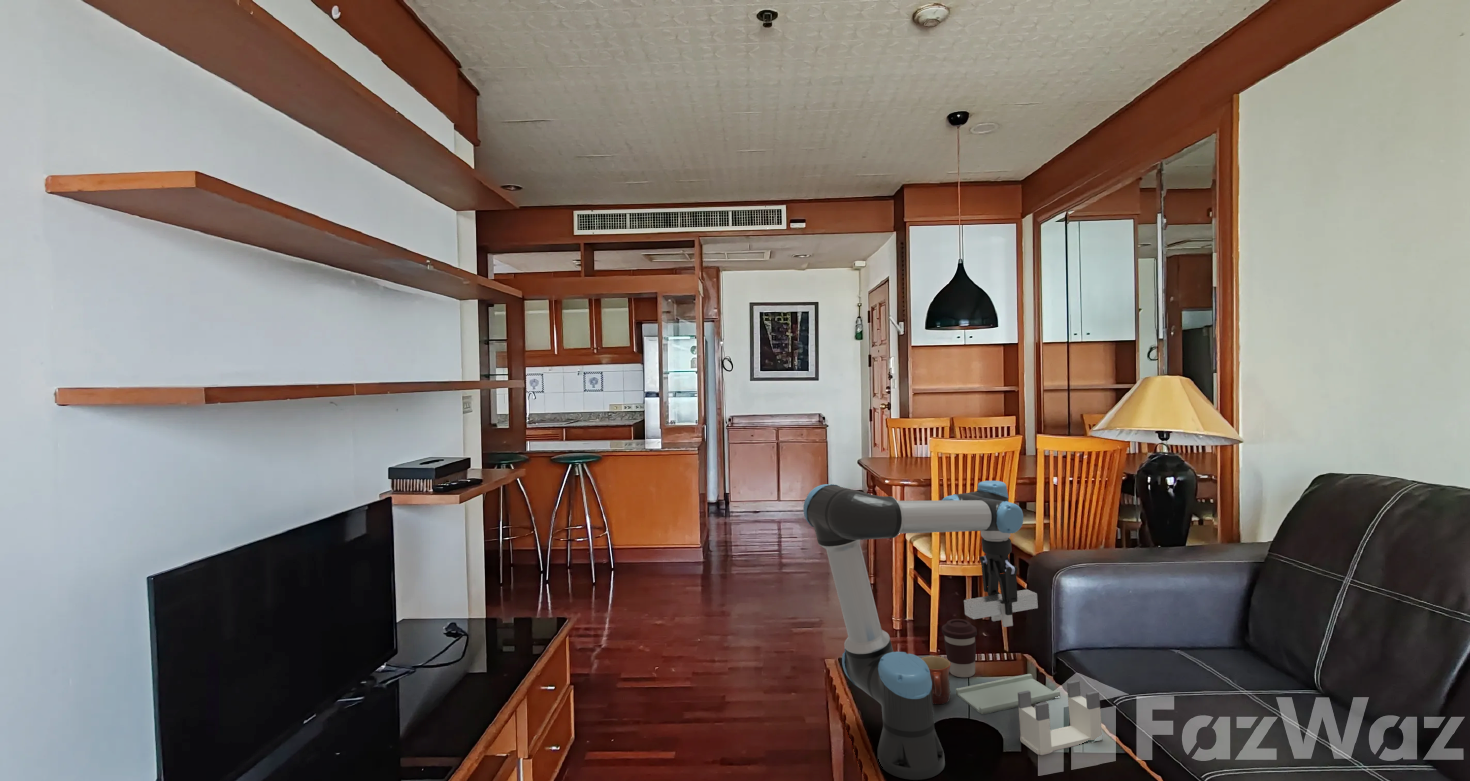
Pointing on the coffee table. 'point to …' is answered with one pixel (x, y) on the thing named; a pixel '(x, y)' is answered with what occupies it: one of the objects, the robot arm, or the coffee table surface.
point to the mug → (939, 678)
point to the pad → (1004, 693)
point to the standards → (1045, 740)
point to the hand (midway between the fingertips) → (1002, 622)
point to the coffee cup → (960, 646)
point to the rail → (999, 604)
